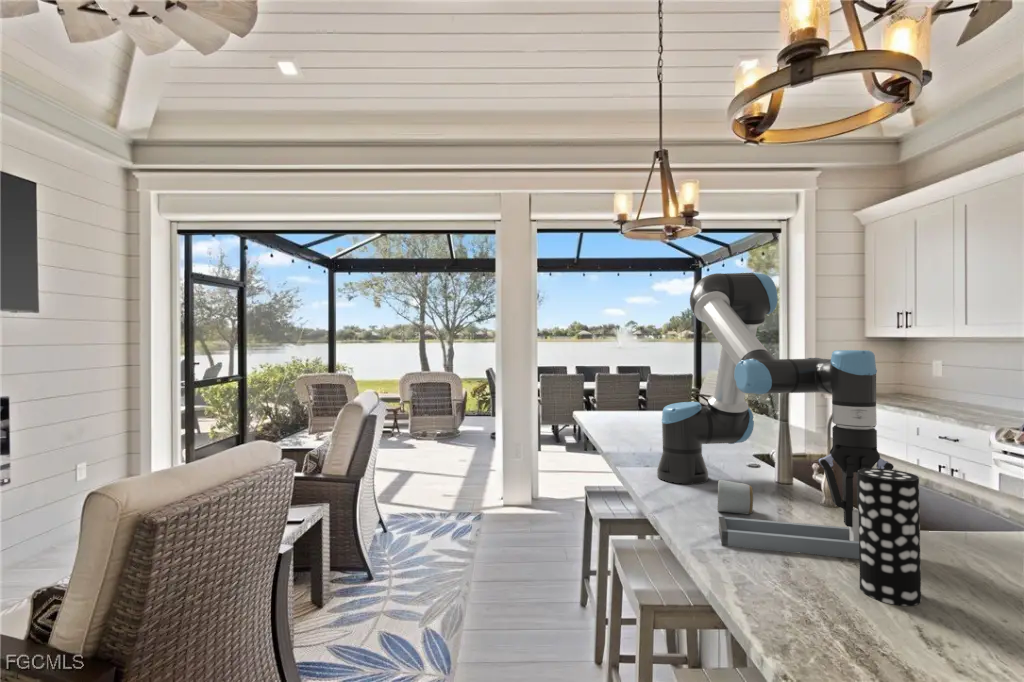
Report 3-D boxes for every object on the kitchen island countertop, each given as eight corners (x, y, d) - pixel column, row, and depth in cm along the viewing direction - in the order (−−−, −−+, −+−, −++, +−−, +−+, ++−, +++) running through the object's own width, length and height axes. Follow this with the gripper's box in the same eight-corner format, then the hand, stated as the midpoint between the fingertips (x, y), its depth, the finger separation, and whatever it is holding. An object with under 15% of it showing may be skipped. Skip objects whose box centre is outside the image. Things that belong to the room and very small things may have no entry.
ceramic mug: (754, 518, 124) (753, 486, 124) (717, 515, 127) (716, 483, 127) (751, 506, 134) (750, 476, 134) (717, 503, 137) (716, 474, 137)
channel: (718, 529, 117) (718, 516, 117) (852, 541, 109) (852, 527, 109) (721, 545, 108) (721, 530, 108) (867, 559, 100) (867, 544, 100)
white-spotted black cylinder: (862, 577, 92) (860, 466, 93) (921, 591, 87) (919, 472, 87) (857, 595, 86) (854, 475, 86) (920, 611, 81) (918, 483, 81)
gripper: (822, 427, 103) (823, 546, 103) (899, 430, 99) (901, 553, 99) (813, 422, 110) (814, 532, 110) (884, 424, 106) (886, 539, 106)
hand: (855, 542), depth 104 cm, fingers closed
